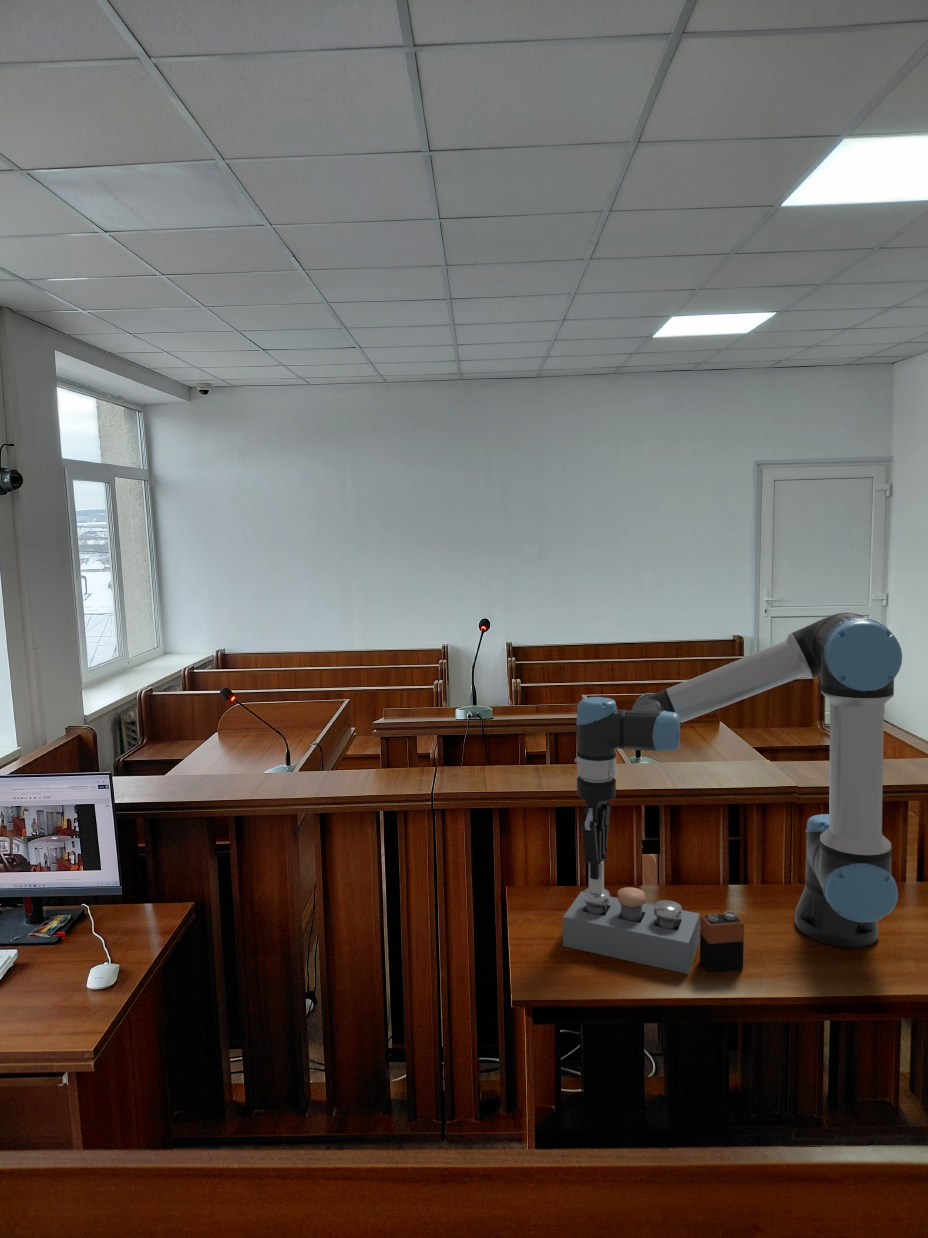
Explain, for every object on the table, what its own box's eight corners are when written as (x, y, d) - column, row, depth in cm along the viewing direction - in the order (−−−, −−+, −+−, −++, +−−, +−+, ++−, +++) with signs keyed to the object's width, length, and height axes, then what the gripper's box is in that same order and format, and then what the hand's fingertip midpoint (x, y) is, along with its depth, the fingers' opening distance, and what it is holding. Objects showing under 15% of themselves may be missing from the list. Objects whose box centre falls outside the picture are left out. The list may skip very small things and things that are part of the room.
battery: (744, 970, 143) (745, 918, 142) (708, 973, 142) (709, 921, 141) (733, 957, 147) (734, 907, 146) (698, 960, 146) (699, 910, 145)
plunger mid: (647, 921, 153) (647, 890, 152) (641, 934, 148) (641, 901, 148) (621, 916, 155) (621, 885, 155) (614, 928, 151) (614, 896, 150)
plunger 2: (683, 935, 150) (684, 903, 149) (678, 948, 146) (679, 915, 145) (656, 930, 152) (657, 898, 152) (650, 942, 148) (651, 910, 147)
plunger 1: (612, 921, 156) (612, 890, 156) (605, 933, 152) (605, 901, 151) (587, 915, 159) (587, 885, 158) (580, 927, 154) (579, 896, 153)
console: (699, 942, 152) (699, 913, 152) (688, 974, 142) (688, 943, 141) (581, 918, 163) (581, 891, 162) (563, 946, 152) (562, 917, 152)
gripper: (587, 765, 159) (587, 875, 162) (567, 784, 148) (567, 902, 150) (623, 769, 156) (623, 882, 159) (606, 789, 144) (605, 910, 147)
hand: (596, 892), depth 154 cm, fingers closed
